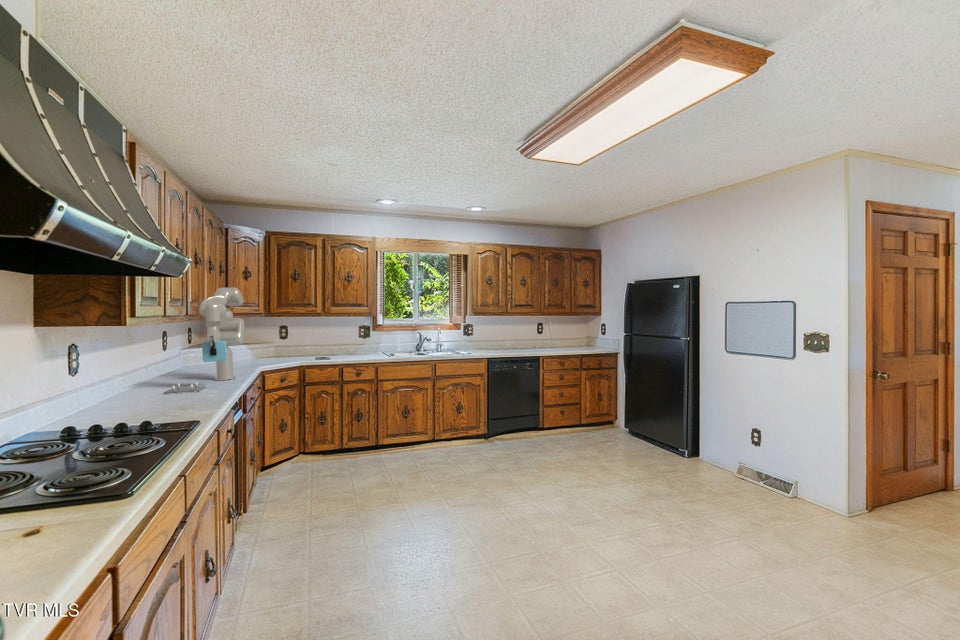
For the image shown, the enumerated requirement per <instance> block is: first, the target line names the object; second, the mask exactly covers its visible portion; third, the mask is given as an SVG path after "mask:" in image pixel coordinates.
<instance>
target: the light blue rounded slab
mask: <svg viewBox="0 0 960 640" xmlns="http://www.w3.org/2000/svg"><path fill="white" fill-rule="evenodd" d="M214 342H215V341H214ZM214 342H213V343H214ZM201 348H202V361H203V362H204V363H211V362H212V363H214V362H216V361H224V360H226V359H227V350H226V342H225V341H217V343H216V352H217V355H210V343H209V344H208V343H207V340H206V341H204V342H202V344H201Z"/></svg>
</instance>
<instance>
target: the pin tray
mask: <svg viewBox="0 0 960 640" xmlns="http://www.w3.org/2000/svg"><path fill="white" fill-rule="evenodd" d="M171 387H172V388H170V389H168V390H166V391H163V393H175V394H178V393H177V392H190V393H195V392H194V391H199V392H201V391H203V390H204V389H203V388H205V387H206V388H207V386H206V385H202V386H201V385H200V386H199V385H198V381H195V382H194V384H190V386H189V387H188V386H185V387H181V383H180V382H178V383H177V387H176V386H175V385H172V386H171ZM206 388H205V389H206ZM202 389H203V390H202ZM200 390H201V391H200Z"/></svg>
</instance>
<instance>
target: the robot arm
mask: <svg viewBox="0 0 960 640" xmlns="http://www.w3.org/2000/svg"><path fill="white" fill-rule="evenodd" d="M243 303H244V297H243V295H242V293H241V291H240V289H238V288H237V287H219V288H216V290H215V292H214V294H213V296H211V297H208V298H205V299H204V300H202V302H201V303H200V305H199V308H198V310H199V311H198V313H199V314H200V316H202V317H205V326H206V327H205V328H207V329H206V330H207V331H206V341H207V343H208V344H209V343H210V355H217V352H216V343H217V341H225V342H226V350H227V359H226V360H224V361H215V363H216V377H214V381H229V380H228V379H231V380H235V379H236V378H237V376H236V375H234V361H233V359H234V358H233V357H234V356H233V350H231V348H230V346H240V345H243V344H244V340H245V321H244V319H243V318H242V317H241V318H240V317H234V314H233V312H232V310H230V308H228V307H239V306H242V305H243ZM214 341H215V342H214ZM213 342H214V343H213ZM234 378H235V379H234Z"/></svg>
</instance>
